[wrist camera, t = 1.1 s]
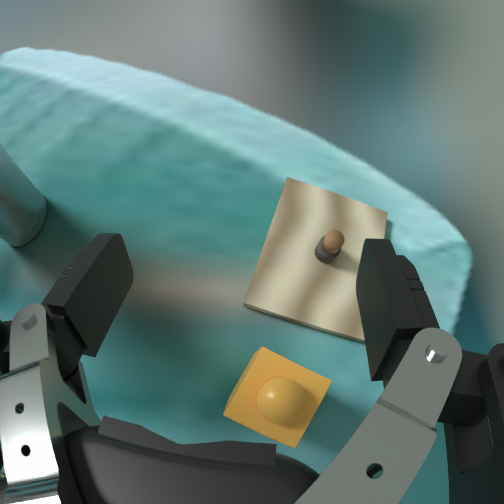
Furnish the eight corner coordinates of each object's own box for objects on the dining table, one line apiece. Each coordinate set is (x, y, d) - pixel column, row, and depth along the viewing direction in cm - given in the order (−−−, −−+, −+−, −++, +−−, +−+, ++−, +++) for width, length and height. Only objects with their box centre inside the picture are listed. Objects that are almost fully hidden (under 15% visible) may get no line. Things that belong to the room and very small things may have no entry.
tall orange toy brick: (274, 421, 29) (298, 452, 17) (228, 398, 30) (222, 417, 18) (299, 377, 31) (337, 380, 19) (253, 354, 32) (263, 344, 19)
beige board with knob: (243, 305, 34) (244, 293, 29) (285, 183, 40) (292, 157, 35) (359, 341, 33) (380, 335, 27) (382, 217, 39) (400, 196, 34)
